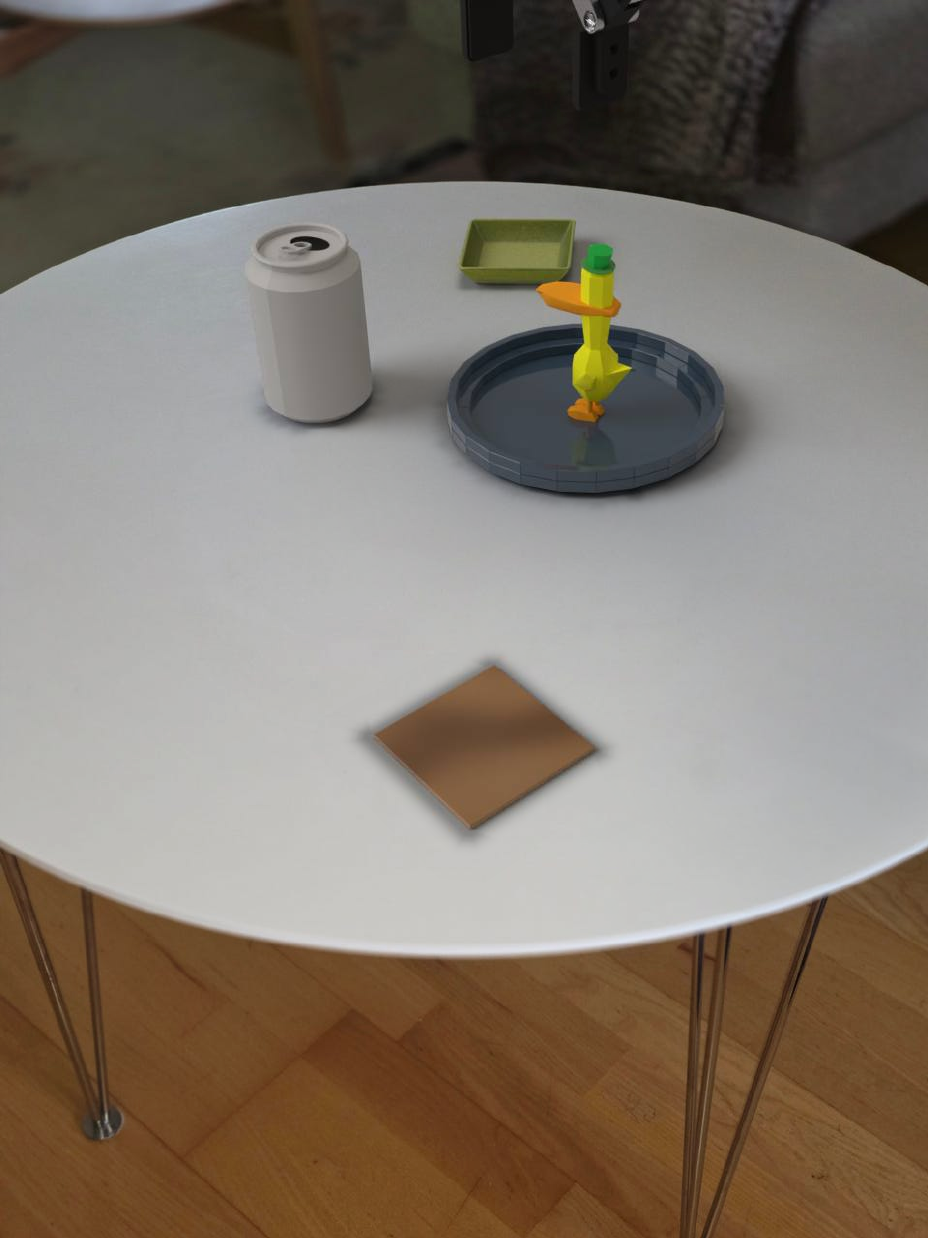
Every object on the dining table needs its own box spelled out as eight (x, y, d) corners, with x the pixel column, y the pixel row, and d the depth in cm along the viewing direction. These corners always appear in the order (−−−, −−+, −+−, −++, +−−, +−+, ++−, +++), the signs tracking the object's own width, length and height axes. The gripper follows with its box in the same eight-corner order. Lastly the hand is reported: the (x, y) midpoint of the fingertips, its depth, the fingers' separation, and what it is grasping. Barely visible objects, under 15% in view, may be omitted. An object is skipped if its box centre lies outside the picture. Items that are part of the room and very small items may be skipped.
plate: (779, 425, 90) (783, 397, 89) (573, 537, 82) (573, 508, 81) (593, 324, 101) (594, 297, 100) (395, 414, 93) (392, 386, 92)
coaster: (594, 752, 69) (594, 746, 69) (470, 831, 65) (470, 826, 65) (494, 669, 74) (494, 664, 73) (373, 739, 70) (372, 734, 70)
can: (395, 389, 96) (380, 228, 88) (331, 442, 91) (310, 277, 83) (309, 363, 99) (288, 205, 91) (244, 413, 94) (216, 251, 86)
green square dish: (457, 291, 106) (456, 267, 105) (470, 241, 113) (469, 217, 111) (570, 293, 105) (570, 268, 104) (576, 242, 112) (576, 218, 110)
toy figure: (527, 412, 92) (524, 246, 84) (552, 387, 94) (552, 222, 86) (618, 438, 89) (624, 268, 81) (641, 411, 91) (650, 243, 83)
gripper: (732, -292, 59) (703, 105, 70) (493, -325, 70) (501, 23, 81) (597, -267, 56) (590, 144, 67) (369, -306, 67) (396, 53, 78)
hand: (541, 78), depth 74 cm, fingers open, 9 cm apart
